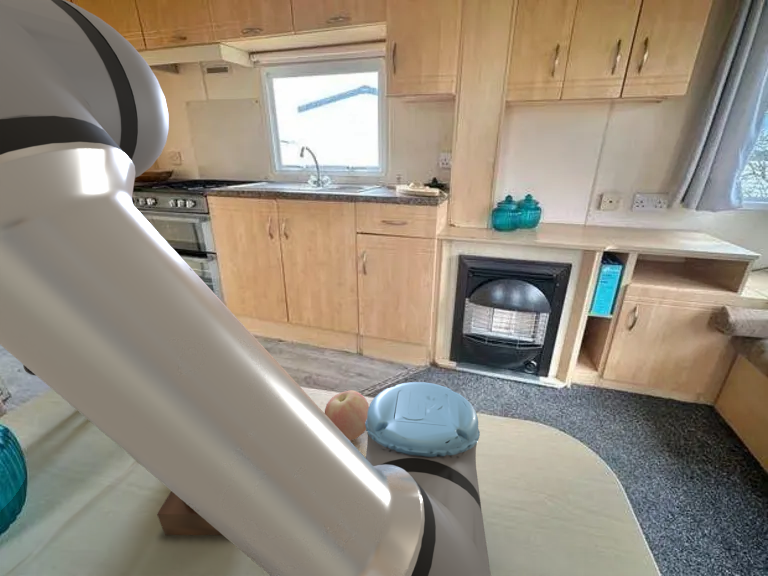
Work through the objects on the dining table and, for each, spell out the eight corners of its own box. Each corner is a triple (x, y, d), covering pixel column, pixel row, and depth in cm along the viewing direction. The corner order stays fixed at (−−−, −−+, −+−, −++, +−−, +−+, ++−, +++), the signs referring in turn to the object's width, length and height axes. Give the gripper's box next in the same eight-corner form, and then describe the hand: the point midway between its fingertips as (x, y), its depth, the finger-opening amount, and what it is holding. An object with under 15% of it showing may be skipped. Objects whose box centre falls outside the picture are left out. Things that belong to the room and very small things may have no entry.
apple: (357, 411, 67) (355, 377, 64) (379, 436, 62) (378, 400, 59) (319, 428, 63) (315, 393, 60) (339, 457, 58) (336, 420, 54)
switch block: (259, 481, 54) (253, 452, 51) (239, 535, 46) (231, 505, 44) (195, 481, 54) (186, 452, 51) (165, 535, 46) (152, 504, 44)
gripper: (-209, 253, 38) (78, 255, 55) (-233, 349, 32) (94, 317, 50) (-237, 196, 34) (81, 217, 52) (-270, 294, 28) (99, 280, 46)
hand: (87, 266), depth 51 cm, fingers closed
